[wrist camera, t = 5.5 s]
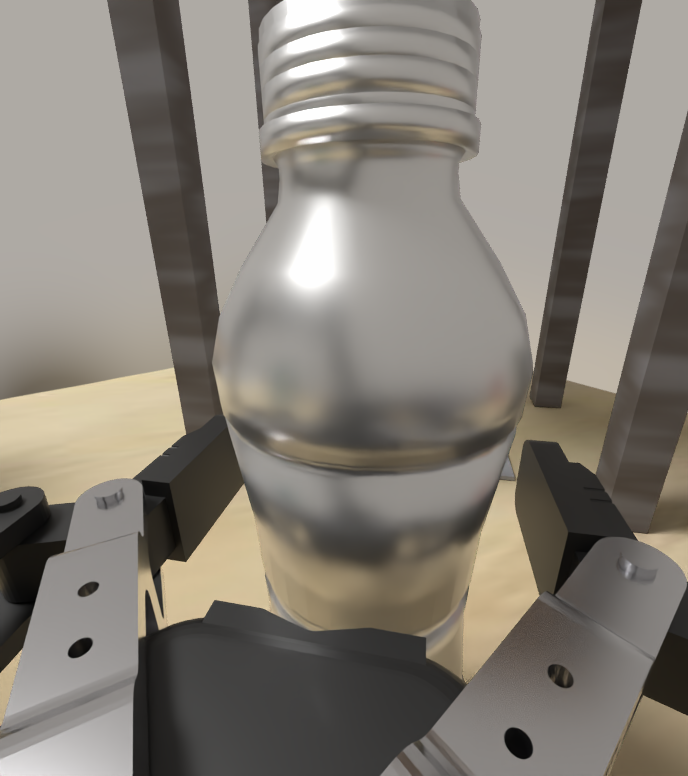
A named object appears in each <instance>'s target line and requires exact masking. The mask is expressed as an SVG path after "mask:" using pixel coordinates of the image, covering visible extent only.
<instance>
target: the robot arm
mask: <svg viewBox="0 0 688 776" xmlns="http://www.w3.org/2000/svg"><path fill="white" fill-rule="evenodd" d="M243 484H244V480H243V477H242V473H241V470H240V467H239V463H238V460H237V457H236V453H235V450H234V447H233V443H232V440H231V437H230V433H229V430H228V426H227V422H226V418H225V416H224V415H215V416H214V417H213V418H212V419H210V420H209V421H208V422H207V423H206V424H205V425H204V426H202V427H201V428H200V429H197V430H195V431H193V432H191V433H189V434H187V435H185V436H183V437H181V438H180V439H179V440H178V441H177V442H176V443H174V444H173V445H172V448H168V449H167V450H166V451H165V452H164V453H163V455H162V456H161V455H160V456H159V457H158V458H157V459H155V460H154V461H153V462H152V463H151V464H149V465H148V466H147V467H146V468H145V469H144V470H142V471H141V472H140V473H139V474H138V475H136V476H135V477H134V478H133V479H115V480H110V481H107V482H104V483H101V484H98V485H96V486H94V487H92V488H90V489H89V490H87V491H86V492H84V493H83V494H82V495H81V496H80V497H79V498H78V499H77V501H76V502H75V503H65V504H55V505H48V502H47V499H46V496H45V494H44V491H43V490H42V489H41V488H38V487H29V486H28V487H19V488H14V489H10V490H7V491H4V492H1V493H0V673H1V672H2V670H3V669H4V668H5V667H6V666H7V665H8V664H9V663H10V662H11V661H12V659H13V658H14V657H15V656H16V655H17V654H18V653H19V652H20V651H21V650H22V648H23V650H22V654H21V657H20V661H19V665H18V668H17V672H16V676H15V679H14V683H13V687H12V690H11V694H10V698H9V702H8V705H7V709H6V713H5V716H4V720H3V723H2V725H1V726H0V776H609V774H610V772H611V769H612V767H613V765H614V762H615V760H616V758H617V755H618V753H619V751H620V748H621V746H622V744H623V741H624V739H625V737H626V734H627V732H628V730H629V727H630V725H631V723H632V720H633V718H634V716H635V713H636V711H637V709H638V706H639V704H640V702H641V699H642V697H643V695H644V696H646V697H648V698H651V699H653V700H655V701H657V702H659V703H662V704H664V705H666V706H668V707H670V708H672V709H675V710H677V711H679V712H681V713H683V714H686V715H688V582H687V579H686V577H685V574H684V573H683V571H682V570H681V568H680V567H679V566H678V565H677V564H676V563H675V562H674V561H673V560H672V559H671V558H669V557H668V556H667V555H665V554H664V553H662V552H661V551H659V550H657V549H655V548H653V547H651V546H649V545H647V544H645V543H642V542H639V541H638V540H637V538H636V537H635V535H634V534H633V532H632V531H631V529H630V528H629V526H628V524H627V523H626V521H625V520H624V518H623V517H622V515H621V514H620V512H619V510H618V509H617V507H616V506H615V504H612V500H611V498H610V496H609V495H608V493H607V492H605V489H604V487H603V486H602V484H601V482H600V481H599V479H598V478H597V476H596V475H595V474H593V473H592V472H591V471H589V470H588V469H587V468H585V467H584V466H583V465H581V464H580V463H572V462H569V461H568V460H567V458H566V456H565V454H564V453H563V451H562V449H561V447H560V446H559V444H558V443H557V442H546V441H533V440H526V441H525V442H524V445H523V449H522V455H521V461H520V467H519V473H518V479H517V485H516V491H515V508H516V514H517V517H518V521H519V524H520V528H521V531H522V535H523V539H524V542H525V546H526V549H527V553H528V556H529V560H530V563H531V567H532V570H533V574H534V577H535V581H536V584H537V588H538V591H539V595H540V596H539V597H538V598H537V600H536V601H535V602H534V603H533V605H532V606H531V607H530V608H529V610H528V611H527V612H526V613H525V614H524V616H523V617H522V618H521V619H520V621H519V622H518V623H517V624H516V626H515V627H514V628H513V629H512V630H511V632H510V633H509V634H508V635H507V637H506V638H505V639H504V640H503V641H502V643H501V644H500V645H499V646H498V648H497V649H496V650H495V651H494V653H493V654H492V655H491V656H490V657H489V659H488V660H487V661H486V662H485V664H484V665H483V666H482V667H481V669H480V670H479V671H478V672H477V673H476V675H475V676H474V677H473V678H472V680H471V681H470V682H469V683H468V684H466V683H465V682H464V681H463V680H462V679H461V678H459V677H458V676H457V675H455V674H454V673H453V672H451V671H450V670H448V669H447V668H445V667H443V666H442V665H440V664H438V663H437V662H435V661H432V660H430V659H428V658H426V637H420V636H415V635H409V634H403V633H398V632H392V631H386V630H381V629H375V628H356V629H341V630H326V631H310V630H307V629H305V628H302V627H300V626H298V625H296V624H294V623H292V622H290V621H288V620H286V619H284V618H281V617H279V616H277V615H275V614H273V613H271V612H269V611H267V610H265V609H262V608H257V607H251V606H245V605H240V604H234V603H228V602H223V601H217V600H214V602H213V604H212V605H211V607H210V609H209V611H208V612H207V614H206V616H205V617H204V618H198V619H192V620H187V621H183V622H180V623H176V624H173V625H170V626H168V624H167V611H166V598H165V586H164V575H163V570H162V565H163V563H164V562H165V561H166V560H167V559H170V560H176V561H183V562H186V561H187V560H188V559H189V557H190V556H191V554H192V553H193V552H194V550H195V549H196V548H197V546H198V545H199V544H200V542H201V541H202V539H203V538H204V537H205V535H206V534H207V533H208V531H209V530H210V529H211V527H212V526H213V525H214V523H215V522H216V520H217V519H218V518H219V516H220V515H221V514H222V512H223V511H224V510H225V508H226V507H227V506H228V504H229V503H230V501H231V500H232V499H233V497H234V496H235V495H236V493H237V492H238V491H239V489H240V488H241V486H242V485H243Z"/></svg>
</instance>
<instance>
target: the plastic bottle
mask: <svg viewBox="0 0 688 776" xmlns="http://www.w3.org/2000/svg"><path fill="white" fill-rule="evenodd" d="M479 27H480V15H479V12H478V8H477V7H476V6H475V5H474V3H473V2H472V1H471V0H283V1H282V2H280V3H279V4H277V5H276V6H274V7H273V8H272V9H271V10H270V11H269V12H268V13H267V14H266V16H265V17H264V18H263V20H262V22H261V25H260V27H259V43H258V58H259V69H260V82H261V93H262V105H263V118H264V125H263V126H262V127H261V128H260V129H259V139H260V150H261V162H263V163H264V164H265V165H268V166H271V167H274V168H278V169H279V177H280V181H279V194H278V204H277V206H276V207H275V209H274V211H273V213H272V214H271V216H270V218H269V220H268V221H267V223H266V225H265V227H264V229H263V230H262V232H261V234H260V235H259V237H258V239H257V240H256V242H255V244H254V246H253V247H252V249H251V251H250V253H249V255H248V256H247V258H246V260H245V261H244V263H243V265H242V267H241V269H240V271H239V274H238V276H237V278H236V281H235V283H234V285H233V287H232V289H231V292H230V294H229V296H228V298H227V300H226V303H225V305H224V307H223V310H222V312H221V314H220V316H219V321H218V328H217V334H216V340H215V347H214V353H213V360H212V365H213V369H214V374H215V378H216V383H217V388H218V393H219V398H220V403H221V407H222V411H223V415H224V416H225V418H226V422H227V426H228V430H229V433H230V437H231V440H232V443H233V447H234V450H235V453H236V457H237V460H238V463H239V467H240V470H241V473H242V477H243V480H244V483H245V487H246V490H247V493H248V497H249V500H250V503H251V507H252V510H253V513H254V517H255V522H256V528H257V533H258V539H259V545H260V550H261V556H262V561H263V565H264V568H265V578H266V583H267V588H268V594H269V599H270V612H271V613H273V614H275V615H277V616H279V617H281V618H284V619H286V620H288V621H290V622H292V623H294V624H296V625H298V626H300V627H302V628H305V629H307V630H310V631H326V630H341V629H356V628H375V629H381V630H386V631H392V632H398V633H403V634H409V635H415V636H420V637H426V658H428V659H430V660H432V661H435V662H437V663H438V664H440V665H442V666H443V667H445V668H447V669H448V670H450V671H451V672H453V673H454V674H455V675H457V676H458V677H459V678H461V679H462V680H463V675H462V670H463V629H464V610H465V605H466V601H467V595H468V589H469V584H470V582H471V577H472V573H473V568H474V563H475V559H476V554H477V549H478V545H479V540H480V535H481V531H482V528H483V525H484V523H485V520H486V517H487V514H488V511H489V508H490V505H491V503H492V500H493V497H494V494H495V491H496V488H497V485H498V483H499V480H500V477H501V474H502V471H503V468H504V465H505V463H506V460H507V457H508V454H509V451H510V448H511V445H512V443H513V440H514V437H515V434H516V426H517V424H518V423H519V421H520V419H521V418H522V414H523V410H524V406H525V402H526V398H527V393H528V390H529V386H530V382H531V379H532V375H533V362H532V354H531V348H530V341H529V334H528V327H527V320H526V314H525V312H524V310H523V308H522V306H521V304H520V302H519V300H518V298H517V296H516V294H515V292H514V290H513V288H512V286H511V284H510V281H509V279H508V277H507V275H506V273H505V271H504V269H503V267H502V265H501V263H500V261H499V260H498V258H497V256H496V255H495V253H494V251H493V250H492V248H491V247H490V245H489V243H488V242H487V240H486V239H485V237H484V236H483V234H482V232H481V231H480V229H479V228H478V226H477V224H476V223H475V221H474V219H473V218H472V216H471V215H470V213H469V211H468V210H467V208H466V207H465V205H464V203H463V202H462V200H461V198H460V187H459V175H458V170H459V163H461V162H464V161H467V160H470V159H472V158H474V157H476V156H477V155H478V153H479V142H480V130H481V122H480V120H479V118H477V117H476V116H475V111H476V99H477V86H478V74H479V61H480V49H481V38H482V35H481V31H480V28H479ZM463 681H464V680H463Z"/></svg>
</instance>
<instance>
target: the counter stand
mask: <svg viewBox="0 0 688 776" xmlns="http://www.w3.org/2000/svg"><path fill="white" fill-rule="evenodd" d="M282 1H283V0H248V3H249V15H250V27H251V40H252V51H253V64H254V75H255V89H256V101H257V112H258V125H259V129H260V128H261V127H262V126H263V125H264V118H263V105H262V93H261V82H260V69H259V58H258V43H259V27H260V25H261V22H262V20H263V18H264V17H265V16H266V14H267V13H268V12H269V11H270V10H271V9H272V8H273V7H274V6H276V5H277V4H279V3H280V2H282ZM107 2H108V7H109V13H110V18H111V24H112V29H113V35H114V40H115V46H116V51H117V56H118V62H119V68H120V73H121V79H122V83H123V89H124V95H125V100H126V106H127V111H128V116H129V122H130V128H131V133H132V139H133V144H134V149H135V155H136V161H137V166H138V172H139V177H140V183H141V188H142V194H143V199H144V204H145V210H146V216H147V221H148V226H149V232H150V237H151V243H152V248H153V253H154V259H155V265H156V270H157V276H158V281H159V286H160V292H161V298H162V303H163V308H164V314H165V320H166V325H167V331H168V336H169V342H170V347H171V353H172V358H173V363H174V369H175V374H176V380H177V385H178V391H179V396H180V402H181V407H182V413H183V418H184V424H185V429H186V435H187V434H189V433H191V432H193V431H195V430H197V429H200V428H201V427H202V426H204V425H205V424H206V423H207V422H208V421H209V420H210V419H212V418H213V417H214V416H215V415H223V411H222V407H221V403H220V398H219V393H218V388H217V383H216V378H215V374H214V369H213V365H212V360H213V353H214V347H215V340H216V334H217V328H218V321H219V316H220V312H219V304H218V297H217V289H216V282H215V274H214V267H213V259H212V251H211V244H210V236H209V229H208V221H207V214H206V206H205V198H204V190H203V183H202V175H201V167H200V160H199V152H198V145H197V137H196V130H195V122H194V114H193V107H192V100H191V91H190V84H189V77H188V69H187V62H186V53H185V46H184V38H183V31H182V23H181V16H180V8H179V0H107ZM641 4H642V0H596V4H595V9H594V15H593V21H592V27H591V32H590V38H589V44H588V51H587V56H586V62H585V68H584V74H583V80H582V86H581V92H580V98H579V104H578V111H577V117H576V122H575V128H574V134H573V140H572V146H571V153H570V158H569V164H568V170H567V176H566V182H565V189H564V195H563V200H562V206H561V213H560V218H559V224H558V230H557V237H556V242H555V248H554V254H553V260H552V266H551V272H550V278H549V284H548V290H547V297H546V302H545V308H544V314H543V320H542V326H541V332H540V338H539V344H538V350H537V356H536V362H535V368H534V374H533V380H532V386H531V392H530V399H531V400H532V402H533V404H534V406H540V407H556V408H561V403H562V398H563V393H564V388H565V383H566V378H567V373H568V368H569V363H570V358H571V353H572V348H573V343H574V338H575V333H576V328H577V323H578V318H579V313H580V308H581V303H582V298H583V293H584V288H585V283H586V278H587V273H588V268H589V263H590V258H591V253H592V248H593V243H594V238H595V233H596V228H597V223H598V218H599V213H600V208H601V203H602V198H603V193H604V188H605V183H606V178H607V173H608V168H609V163H610V158H611V153H612V148H613V143H614V138H615V133H616V128H617V123H618V119H619V113H620V109H621V103H622V99H623V93H624V88H625V83H626V79H627V74H628V69H629V64H630V58H631V53H632V48H633V43H634V39H635V34H636V29H637V24H638V19H639V14H640V8H641ZM262 174H263V187H264V199H265V211H266V223H267V221H268V220H269V218H270V216H271V214H272V213H273V211H274V209H275V207H276V206H277V204H278V194H279V181H280V177H279V169H278V168H274V167H271V166H268V165H265V164H264V163H263V162H262ZM687 412H688V113H687V117H686V121H685V124H684V128H683V133H682V136H681V140H680V144H679V148H678V152H677V156H676V160H675V164H674V168H673V172H672V176H671V180H670V184H669V188H668V192H667V196H666V200H665V204H664V208H663V211H662V216H661V219H660V223H659V227H658V231H657V235H656V239H655V243H654V247H653V251H652V255H651V259H650V263H649V267H648V271H647V275H646V279H645V283H644V287H643V291H642V294H641V298H640V302H639V307H638V310H637V314H636V318H635V323H634V326H633V330H632V334H631V338H630V342H629V346H628V350H627V354H626V358H625V362H624V366H623V370H622V374H621V378H620V381H619V386H618V389H617V393H616V397H615V401H614V405H613V409H612V413H611V417H610V421H609V425H608V429H607V433H606V437H605V441H604V445H603V449H602V453H601V457H600V461H599V465H598V468H597V472H596V476H597V478H598V479H599V481H600V482H601V484H602V486H603V487H604V489H605V492H607V493H608V495H609V496H610V498H611V500H612V504H615V506H616V507H617V509H618V510H619V512H620V514H621V515H622V517H623V518H624V520H625V521H626V523H627V524H628V526H629V528H630V529H631V531H632V532H640V533H648V530H649V527H650V524H651V521H652V518H653V515H654V512H655V509H656V506H657V503H658V500H659V497H660V494H661V491H662V488H663V485H664V482H665V479H666V476H667V473H668V470H669V466H670V463H671V460H672V457H673V454H674V451H675V448H676V445H677V442H678V439H679V436H680V433H681V430H682V427H683V424H684V421H685V418H686V415H687ZM500 479H503V480H513V481H514V479H515V476H514V473H513V470H512V467H511V464H510V461H509V458H508V457H507V460H506V463H505V465H504V468H503V471H502V474H501V477H500Z"/></svg>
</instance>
